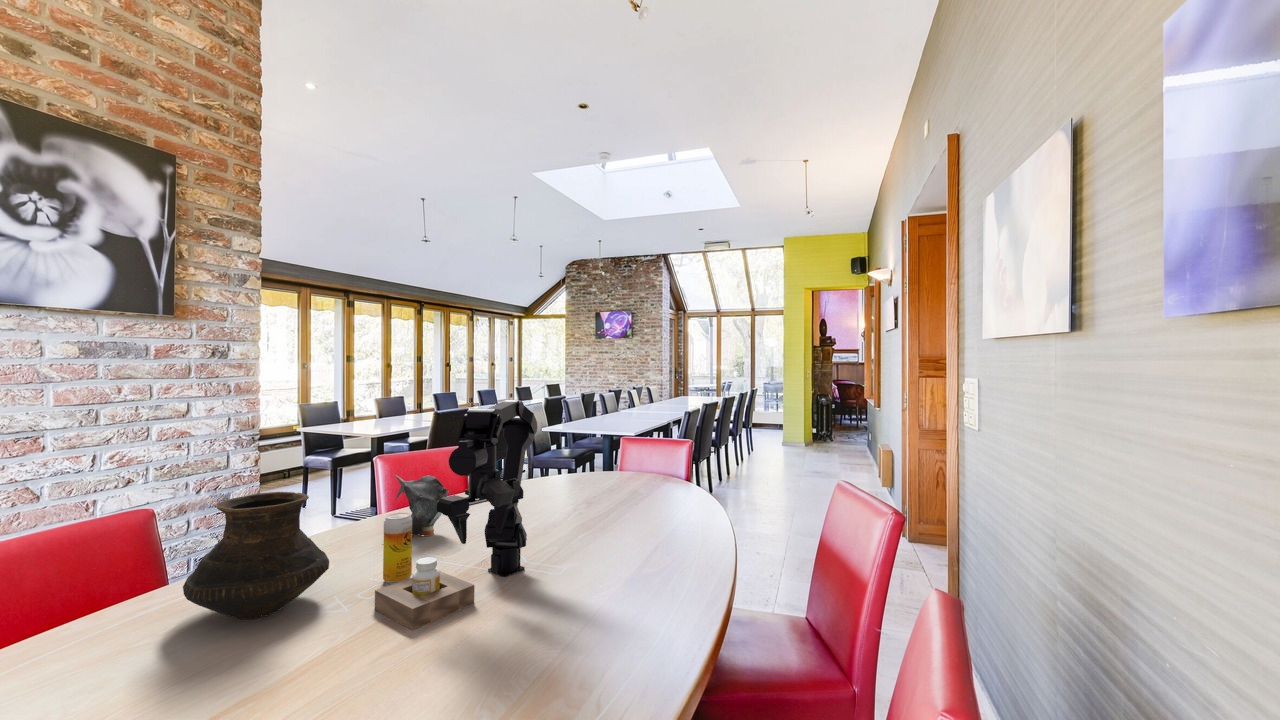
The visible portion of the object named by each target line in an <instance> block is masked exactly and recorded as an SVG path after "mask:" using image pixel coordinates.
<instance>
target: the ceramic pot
mask: <svg viewBox="0 0 1280 720" xmlns="http://www.w3.org/2000/svg"><path fill="white" fill-rule="evenodd" d="M309 498H310V497H309V495H307V494H306V493H302V492H293V491H272V492H271V491H270V492H259V493H252V494H249V495H244V496H238V497H235V498H234V497H233V498H229V499H225V500H222V501H220V502H219V503H217V504H216V506H215V507H216V508H217V510H218V511H220V512H222V513H223V514H224V516H225V526H224V530H223V535H222V538H221V539H220V540H219V541H218V543H216V544H215V546H214V547H213V548H212V549H211V550H210V551H208V552H207V553H206V554H205V555H204V556H203V557H202V559H201V560H199V562H198V564H197V567H196V568H195V569H194V571H193V572H192V573H191V574H189V575H188V576H187V578H186V579H185V582H184V583H183V586H182V591H183V596H184V598H185V599H186V600H187V601H189V602H191V603H193V604H194V605H197V606H199V607H201V608H205V609H207V610H211V611H214V612H216V613H219V614H221V615H224V616H227V617H232V618H235V619H239V620H254V619H258V618H262V617H266V616H270V614H271V615H272V614H274V613H277V612H279V611H280V610H282V608H283V609H284V607H286V606H287V605H288V604H289V603H291V602H292V601H294V600H295V599H297V598H298V597H299V596H301V594H303V593H304V592H305V591H306V590H307V589H309V588H310V587H311V586H312V585H314V584H315V583H316V582H317V581H318V580H319V579H320V578H321V577H322V576H323V575H324V574H325V573H326V572H327V571H328V570H329V569H330V560H329V557H328V555H327V554H326V552H325V551H323V550H322V549H320V548H319V547H318V546H317V544H316V543H315V542H314V541H313V540H312V539H311V538H309V537H308V535H307V534H306V533H305V532H303V530H302V529H301V527H300V526H301V525H300V522H301V521H300V519H301V518H300V517H301V516H300V515H301V511H302V507H303V504H304V503H305V502H306V501H307V500H308V499H309Z"/></svg>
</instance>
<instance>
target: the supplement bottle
mask: <svg viewBox="0 0 1280 720" xmlns="http://www.w3.org/2000/svg"><path fill="white" fill-rule="evenodd" d="M437 562H438V559H437V558H436V557H432V556H429V557H428V556H427V557H422V558H420V559H417V560H416V562H415V568H416V570H415V571H414V572H413V573H412V575H411V576H412V577H411V578H412V594H415V595H417V596H419V597H421V596H423V595H426V594H429V593H432V592H434V591H437V590H439V589H440V571H441V570H439V568H437V565H438V563H437Z"/></svg>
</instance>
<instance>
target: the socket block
mask: <svg viewBox="0 0 1280 720" xmlns="http://www.w3.org/2000/svg"><path fill="white" fill-rule="evenodd" d="M439 571H440V589H439V590H437V591H434V592H432V593H429V594H426V595H423V596H421V597H419V596H417V595H415V594H412V577H409V579H407V580H404V581H401V582H398V583H395V584H388V585H386V586H383V587H380V588H377V589H375V590H374V611H376V612H379V613H380V614H381V615H384V616H386V617H387V618H389V619H391V620H393V621H395V622H397V623H398V624H400V625H403V626H404V627H406V628H408V629H410V630H412V631H413V630H416V629H418V628H421V627H423V626H425V625H428V624H431V623H432V622H435V621H438V620H439V619H442V618H444V617H446V616H449V615H451V614H454V613H455V612H459V611H461V610H463V609H465V608H468V607H470V606H472V605H474V604H475V584H473V583H471V582H469V581H466V580H464V579H461V578H458V577H456V576H453V575H451V574H449V573H446V572H444V571H442V570H439Z"/></svg>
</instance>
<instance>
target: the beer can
mask: <svg viewBox="0 0 1280 720" xmlns="http://www.w3.org/2000/svg"><path fill="white" fill-rule="evenodd" d="M383 543H384V544H383V550H382V551H383V554H382V555H383V558H382V561H383V562H382V569H383V570H382V571H383V572H382V580H383V581H384V582H385V583H386V584H388V585H392V584H395V583H398V582H401V581H404V580H407V579H410V578H411V576H412V575H413V573H412V570H413V569H412V568H413V567H412V563H413V562H412V559H413V557H412V555H413V535H412V518H411V514H410V513H408V512H397V513H391V514H387V515H386V516H385V518H384V520H383Z"/></svg>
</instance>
